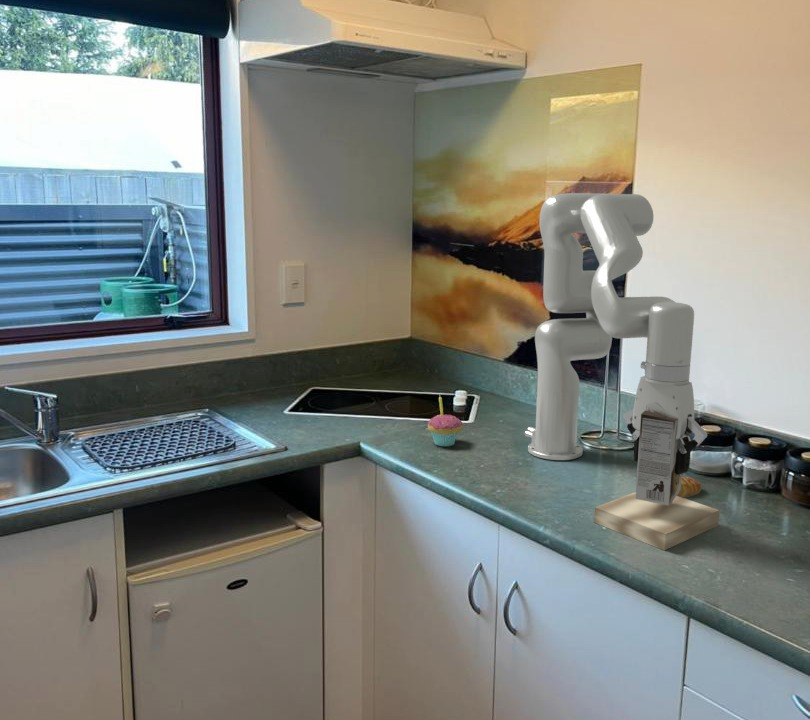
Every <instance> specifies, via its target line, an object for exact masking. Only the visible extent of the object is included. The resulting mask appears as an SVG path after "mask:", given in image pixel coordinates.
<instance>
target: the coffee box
mask: <svg viewBox="0 0 810 720" xmlns="http://www.w3.org/2000/svg"><path fill="white" fill-rule="evenodd" d="M676 429H677V419H675V418H671V417H667V416H665V415H662V414H658V413H653V412H650V411H644V412H643V413H642V414H641V424H640V438H639V453H638V462H637V469H636V470H637V471H636V480H635V481H636V483H635V484H636V485H635V492H636V496H635V498H636V499H638V500H643V501H648V502H653V503H658V504H663V505H670V504H671V503H672V501H673V500H674V499H675V497H676V496H677V494H678V493H679V491H680V490H681V479H682V476H683V475H682V474H683V473H682V474H680V475H678V474H675V464H676V453H678V452H679V449H678V447H677V441H678V440H676Z"/></svg>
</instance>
